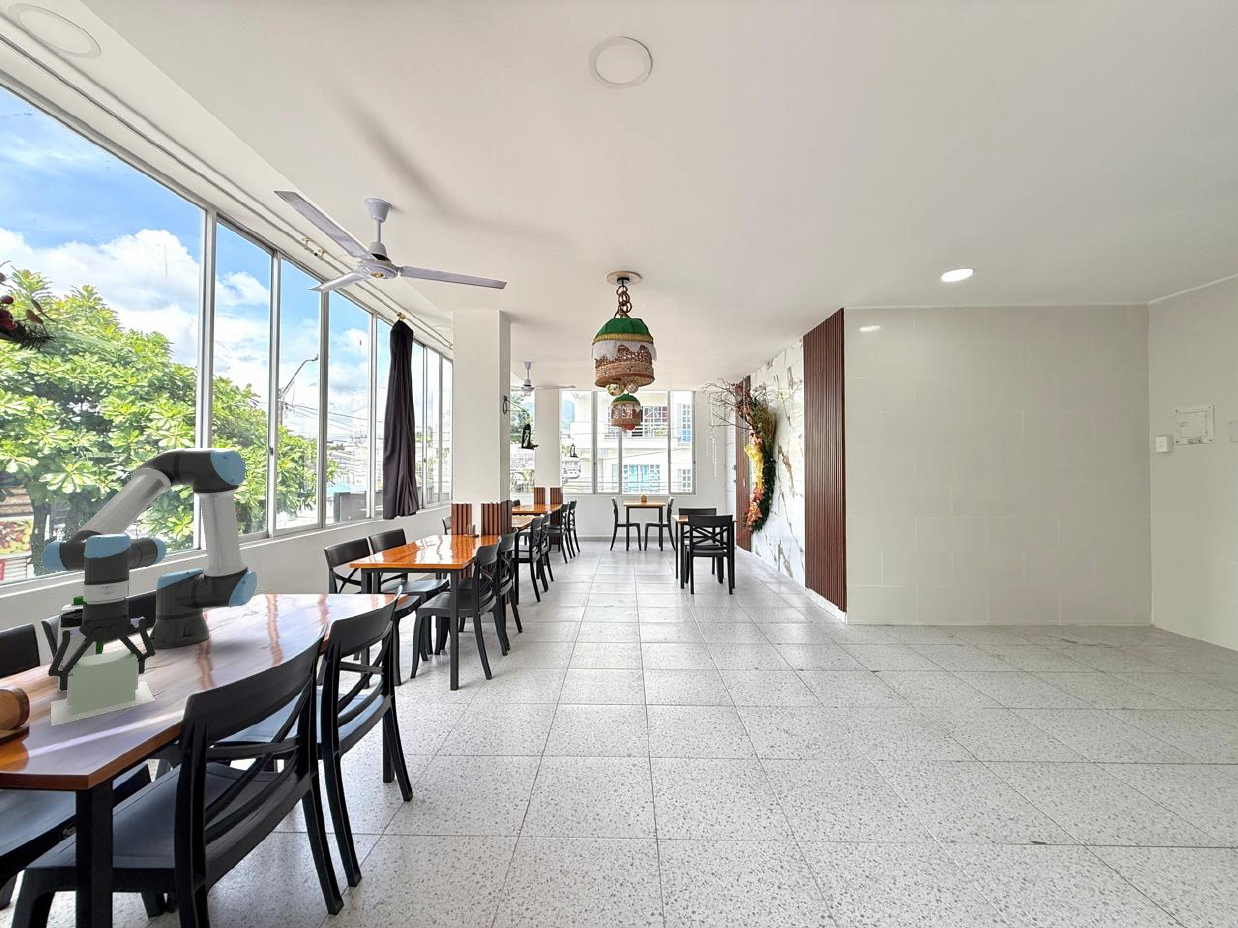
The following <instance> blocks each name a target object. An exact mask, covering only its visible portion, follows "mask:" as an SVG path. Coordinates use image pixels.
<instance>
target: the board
mask: <svg viewBox="0 0 1238 928" xmlns="http://www.w3.org/2000/svg"><path fill="white" fill-rule="evenodd" d="M155 701H156V699H155V698H154V696H153V694H152V692H151V690H150V688H149V685H148V684H147V682H146V681H145V680H143V681H138V690H136V695H135V700H133V701H129V702H125V703H121V704H117V705H113V706H109V707H105V708H100V709H96V710H92V711H88V712H84V713H80V714H76V715H72V710H71V705H69V706H67V698H63V699H59V700H54V701H51V702H50V717H51V718H50V723H51V724H50V726H51V727H54V726H55V727H56V726H59V725H63V724H66V723H71V722H75V721H78V720H83V719H88V718H92V717H95V716H99V715H103V714H108V713H112V712H115V711H119V710H123V709H128V708H131V707H136V706H140V705H143V704H148V703H152V702H155Z"/></svg>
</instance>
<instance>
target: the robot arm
mask: <svg viewBox="0 0 1238 928" xmlns="http://www.w3.org/2000/svg"><path fill="white" fill-rule="evenodd" d="M246 472H247V471H246V464H245V462H244V459H243V457H242V456H241V454H239V453H238V451H236V450H235V449H234V450H233V449H230V448H220V447H208V448H205V447H204V448H203V447H202V448H201V447H198V448H197V447H196V448H193V447H192V448H190V447H189V448H187V447H184V448H183V447H180V448H174V449H170V450H166V451H164V452H161V453H159V454H156V455H155V456H152V457H151V458H149V459H148V460H146V461H144V462H143V463H142V464H141V465H139V466H138V467H137V468H136V469H135V470H134V471H132V473H131V475H130V480H129V481H128V482H127V483H126V484H125V485H124V486H123V487H122V488H121V489H120V490H119V491H118V492H117V493H116V494H114V496H113V497H112V498H111V499H110V500H109V501H108V502H107V503H105V505H104V506H102V507H101V508H100V509H99V510H98V511H97V512H96V513H95V514H93V516H92V517H91V518H90V519H89V520H88V521H87V522H86V523H85V524H84V525H82V527H80V529H79V530H77V531H76V532H75V534H73V535H72V536H71V537H70V538H69V539H68V540H67V539H66V540H65V539H61V540H55V541H52V542H49V543H48V544H47V545H46V546H45V547H44V548H43V550H42V552H41V556H40V560H41V564H42V565H43V566H44V568H45V569H47V570H49V571H53V572H75V571H77V572H78V571H84V580H83V592H82V593H83V595H82V596H83V601H85V602H87V603H85V604H84V605H83V620H82V624H81V625H80V627H77V628H72V629H68V628H65V629H63V630H62V641H61V643H60V646H59V648H58V647H57V648H58V650H57V651H56V653H55V655H54V658H53V660H52V662H51V664H50V666H49V669H48V672H47V674H48V676H49V677H57V678H58V677H60V691H65V690H67V692H66V699H67V706H69V705H72V684H73V673H69V672H70V671H71V670H72V669H73V665H76V663H77V662H78V661H79V659H80V658H81V657H82V655H83V654H84V653H85V651H86V650H87V649H88V648H89V647H90V645H91V644H92V643H93V642H101V641H104V642H105V641H112V640H115V639H118V640H119V641H120V642H121V643H123V645H124V646H125V647H126V649H129V650H130V651H131V652H132V653H133V654H135V655H136V657H137V662H136V690H138V682H139V676H140V675H143V674H144V673H145V672H146V671H145V670H146V669H145V668H146V661H147V659H149V658H151V657H154V656H155V655H156V651H155V650H157V649H162V650H163V649H170V648H172V649H173V648H179V647H185V646H189V645H193V644H196V643H200V642H202V641H205V640H207V639H208V638H210V629H209V626H208V624H207V622H206V619H205V616H204V609H214V608H215V609H216V608H217V609H219V608H230V609H231V608H235V607H242V606H245V605H247V604H249V602H250V601H251V599H252V598H253V597H254V595H255V592H256V589H257V585H258V575H257V573H256V572H255V571H254V570H249V567H248V563H247V562H245V561H244V560H242V556H241V555H242V554H241V547H240V539H239V537H240V536H239V529H238V520H237V512H236V503H235V501H236V500H235V495H234V494H235V492H237V490H239V486H240V485H241V484H242V483H243V482H244V480H245V479H246ZM182 485H183V486H184V485H185V486H191V487H192V493H193V494H195V495H197V496H199V500H200V507H201V514H202V515H201V516H202V524H203V530H204V531H203V532H204V539H205V540H204V541H205V548H206V555H207V564H208V566H207V567H206V568H205V569H204V568H202V567H201V568H199V567H198V568H193V569H191V568H190V569H187V570H181V571H175V572H170V573H166V574H163V575H160V576H159V577H158V579H157V583H156V588H155V591H156V605H155V606H156V607H155V614H156V615H155V622H154V625H153V627H152V629H151V632H150V635H149V633H148V631H147V629H146V625H147V624H146V623H147V619H146V618H145V616H141V617H140V616H139V618H130V617H129V606H130V605H129V603H130V602H129V601H130V600H129V599H128V596H129V595H130V571H132V570H136V569H141V568H149V567H150V566H153V565H156V564H159V563H160V562H161V561H163V559H164V558H166V555H167V551H168V550H167V549H168V548H167V545H166V543H165V542H164V541H163V540H162V539H160V538H157V537H153V536H150V537H148V536H146V537H145V536H144V537H140V538H131V536H130V535H129V534H128V533H125V531H126V530H127V529H129V527H130V526H131V525H132V524H133V523H134V522H135V521H136V520H137V518H138V517H140V515H141V514H142V513H143V512H144V511H145V510H146V509H147V508H148V507H150V505H151V504H152V503H153V501H154V500H155V499H157V497H158V496H159V495H161V494H164V493H167V492H168V491H169V490H170V489H171V488H172V487H175V486H182ZM130 625H133V627H134V628H136V629H137V630H138V632H139V635H140V637H141V640H142V643H143V645H144V648H145V651H146V652H142V651H141V650H140V648H138V647H137V646H136V644H135V643H134V642H133V641H132V640H131V639H130V638H129V637H128V636H127V634H126V633H125V632H124V631H126V630H127V628H129V626H130ZM78 632H81V633H82V634H83V635H84V636H86V638H85V639H84V641H83V642H82V644H81V645H80V646H79V648H78V649H77V650H76V652H75V653H74V654H73V655H72V657H71V658H70V659H69V661H68V662H67V663H66V665H65V666H64V667H63V668H62V669H58V668H59V666H60V664H61V661H62V659H63V657H64V655H65V652H66V650H67V648H68V645H69V643H70V639H71V638H74V637H75V635H76V634H77V633H78Z"/></svg>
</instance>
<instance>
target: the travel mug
mask: <svg viewBox="0 0 1238 928" xmlns="http://www.w3.org/2000/svg"><path fill="white" fill-rule="evenodd" d="M82 620H83V608H82V609H75V611H71V612H67V613H64V614H62V615H61V624H60V629H61V630H60V640H59V646H60V643H61V641H62V630H63V629H65V628H68V629H72V628H77V627H80V625H81V624H82ZM85 638H86V636H84V635H83V634H82V633H81V632H78V633H77V634H76V635H75V637H74V638H71V639H70V643H69V645H68V648H67V650H66V652H65V655H64V657H63V659H62V661H61V664H60V666H59V668H58V669H62V668H63V667H64V666H65V665H66V663H67V662H68V661H69V659H70V658H71V657H72V655H73V654H74V653H75V652H76V650H77V649H78V648H79V646H80V645H81V644H82V642H83V641H84V639H85ZM92 655H96V642H93V643H92V644H91V645H90V647H89V648H88V649H87V650H86V651H85V653H84V654H83V655H82V657H86V656H92ZM69 673H72V670H71V671H70V672H69ZM57 692H58V693H62V694H63V693H66V694H67V690H65V691H60V677H58V676H57Z"/></svg>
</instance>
